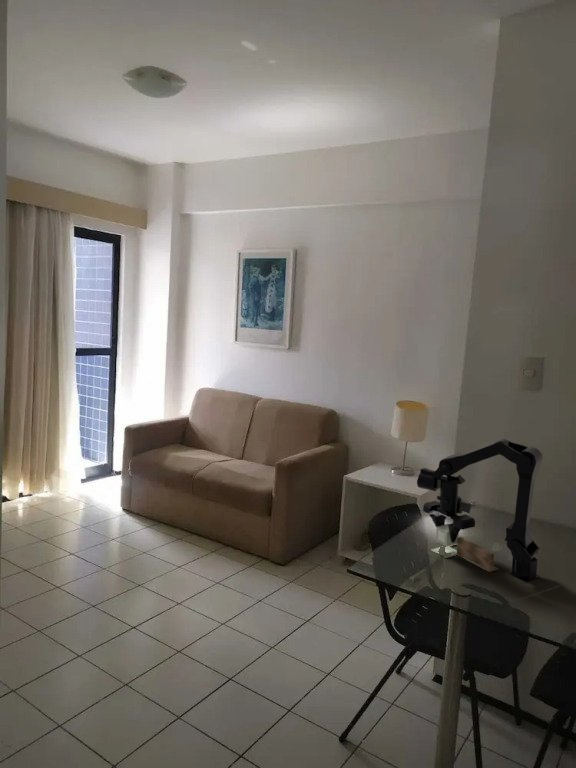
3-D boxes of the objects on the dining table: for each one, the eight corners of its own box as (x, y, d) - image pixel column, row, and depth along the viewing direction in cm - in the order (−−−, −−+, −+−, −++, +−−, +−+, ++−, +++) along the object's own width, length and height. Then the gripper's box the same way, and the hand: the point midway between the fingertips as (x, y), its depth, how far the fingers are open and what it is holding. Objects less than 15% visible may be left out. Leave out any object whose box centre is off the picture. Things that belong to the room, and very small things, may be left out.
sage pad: (462, 554, 190) (462, 553, 190) (445, 559, 187) (445, 557, 187) (447, 546, 196) (447, 545, 196) (431, 550, 193) (431, 549, 193)
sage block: (458, 543, 190) (458, 528, 189) (446, 546, 187) (446, 531, 186) (447, 537, 194) (448, 523, 193) (435, 540, 192) (436, 526, 191)
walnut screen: (498, 570, 179) (499, 552, 178) (488, 573, 177) (489, 554, 176) (465, 552, 191) (466, 535, 190) (456, 555, 189) (457, 537, 188)
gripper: (488, 498, 184) (486, 545, 186) (447, 482, 200) (446, 524, 202) (462, 504, 178) (460, 552, 181) (422, 487, 195) (421, 530, 197)
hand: (447, 539), depth 190 cm, fingers closed on sage block, 5 cm apart
